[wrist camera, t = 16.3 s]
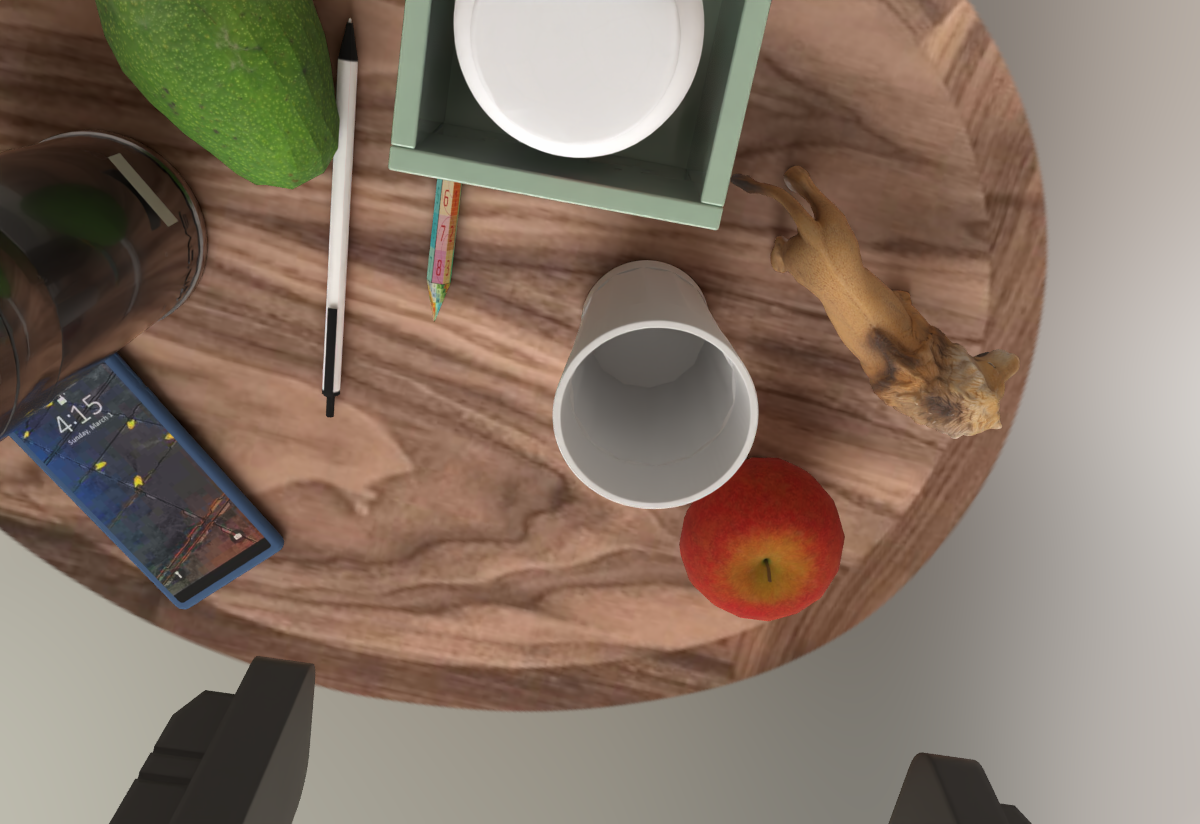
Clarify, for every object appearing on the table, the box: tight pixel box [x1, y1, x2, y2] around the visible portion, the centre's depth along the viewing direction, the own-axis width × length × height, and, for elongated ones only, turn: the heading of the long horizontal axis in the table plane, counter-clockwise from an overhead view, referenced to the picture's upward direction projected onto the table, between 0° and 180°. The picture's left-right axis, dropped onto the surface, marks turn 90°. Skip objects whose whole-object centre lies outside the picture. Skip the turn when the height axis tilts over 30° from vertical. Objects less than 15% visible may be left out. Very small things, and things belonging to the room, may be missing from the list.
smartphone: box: [9, 352, 284, 609], centre depth 54 cm, size 8×1×15 cm
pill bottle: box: [454, 0, 704, 158], centre depth 24 cm, size 5×5×10 cm
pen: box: [322, 18, 358, 417], centre depth 49 cm, size 1×19×1 cm, turn 172°
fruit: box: [95, 0, 340, 189], centre depth 43 cm, size 8×8×12 cm
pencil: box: [427, 179, 462, 321], centre depth 47 cm, size 1×1×18 cm
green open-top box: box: [388, 0, 772, 230], centre depth 35 cm, size 8×8×24 cm
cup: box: [553, 260, 758, 509], centre depth 46 cm, size 8×8×12 cm
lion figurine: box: [731, 166, 1020, 439], centre depth 46 cm, size 15×5×9 cm, turn 50°
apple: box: [679, 457, 845, 621], centre depth 51 cm, size 8×8×8 cm
